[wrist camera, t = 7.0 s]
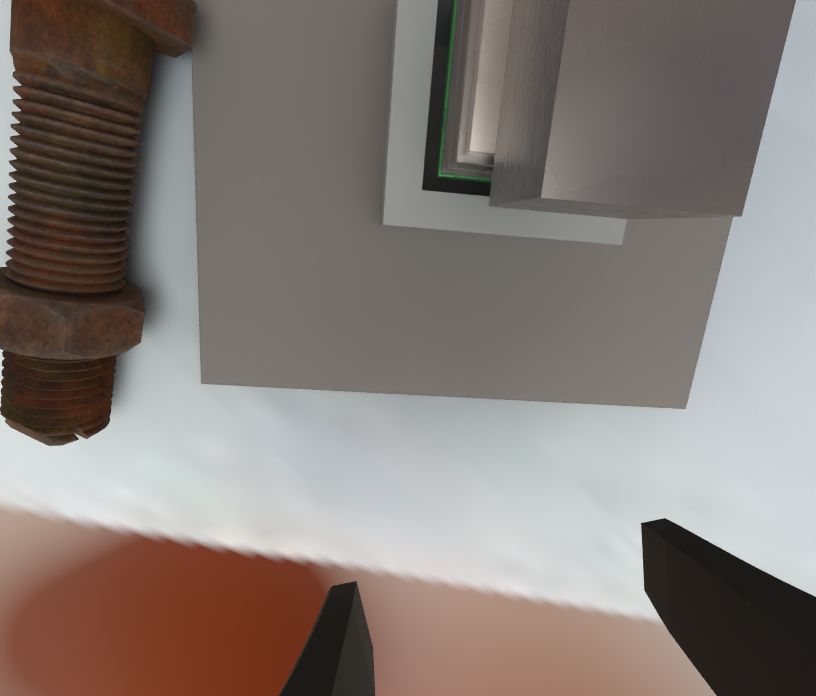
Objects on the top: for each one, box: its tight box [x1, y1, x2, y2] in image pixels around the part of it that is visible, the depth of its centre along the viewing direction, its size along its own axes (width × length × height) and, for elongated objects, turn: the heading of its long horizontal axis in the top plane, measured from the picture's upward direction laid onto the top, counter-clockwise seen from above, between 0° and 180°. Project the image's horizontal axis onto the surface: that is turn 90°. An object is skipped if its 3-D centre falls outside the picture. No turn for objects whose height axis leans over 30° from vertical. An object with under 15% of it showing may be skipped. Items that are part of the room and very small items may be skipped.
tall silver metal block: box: [436, 0, 796, 220], centre depth 10 cm, size 4×6×8 cm
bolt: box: [0, 0, 197, 446], centre depth 15 cm, size 6×5×15 cm
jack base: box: [191, 0, 733, 409], centre depth 15 cm, size 20×20×5 cm
